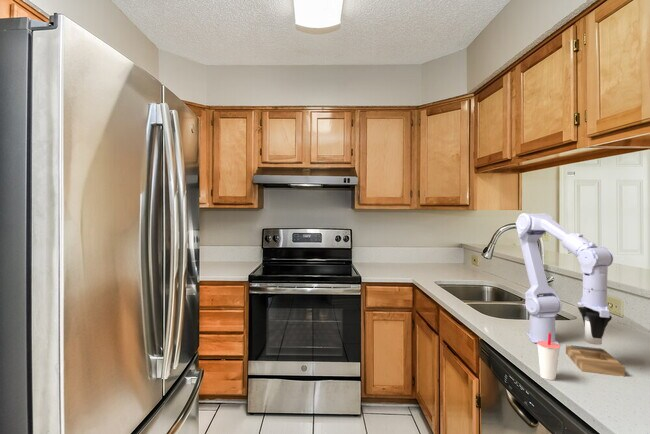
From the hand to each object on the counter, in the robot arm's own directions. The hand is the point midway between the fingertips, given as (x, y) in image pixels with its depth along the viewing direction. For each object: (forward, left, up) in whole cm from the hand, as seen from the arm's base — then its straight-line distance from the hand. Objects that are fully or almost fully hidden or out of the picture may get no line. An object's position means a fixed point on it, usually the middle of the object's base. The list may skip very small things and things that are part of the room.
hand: (593, 335), depth 104 cm
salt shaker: (0, 0, -2) cm, 2 cm away
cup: (+13, -15, -9) cm, 22 cm away
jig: (0, 0, -8) cm, 8 cm away
